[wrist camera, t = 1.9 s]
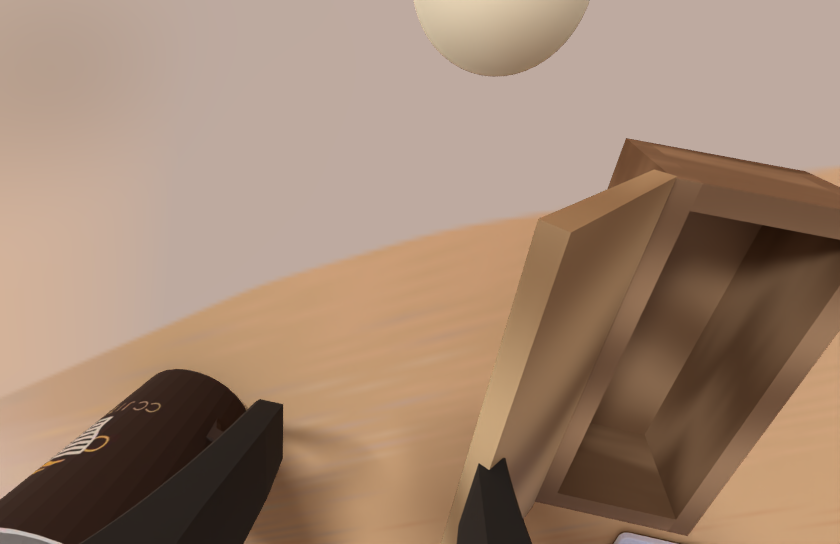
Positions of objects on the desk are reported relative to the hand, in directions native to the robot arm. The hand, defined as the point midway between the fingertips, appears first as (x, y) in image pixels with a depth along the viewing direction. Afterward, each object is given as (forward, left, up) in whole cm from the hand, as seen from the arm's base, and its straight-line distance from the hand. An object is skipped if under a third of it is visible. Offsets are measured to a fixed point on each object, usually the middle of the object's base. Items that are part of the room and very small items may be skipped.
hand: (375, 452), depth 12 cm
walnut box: (0, -10, -10) cm, 14 cm away
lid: (0, -4, -2) cm, 5 cm away
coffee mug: (-12, +10, -10) cm, 19 cm away
